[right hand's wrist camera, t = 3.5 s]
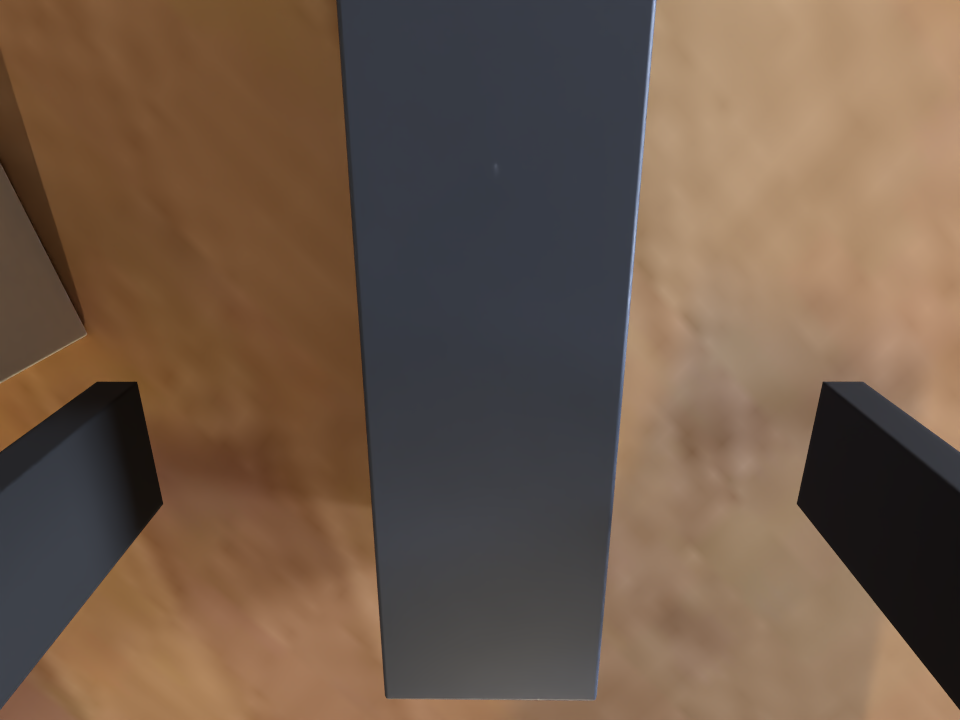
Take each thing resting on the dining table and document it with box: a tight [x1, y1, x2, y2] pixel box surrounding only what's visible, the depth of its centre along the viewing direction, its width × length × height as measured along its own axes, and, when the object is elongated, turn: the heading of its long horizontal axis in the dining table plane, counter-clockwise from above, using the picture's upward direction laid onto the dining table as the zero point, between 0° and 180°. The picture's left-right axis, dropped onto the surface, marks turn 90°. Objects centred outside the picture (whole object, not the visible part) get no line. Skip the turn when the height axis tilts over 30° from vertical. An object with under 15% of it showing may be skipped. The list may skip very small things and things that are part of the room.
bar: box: [336, 0, 656, 701], centre depth 11 cm, size 4×24×6 cm, turn 0°
